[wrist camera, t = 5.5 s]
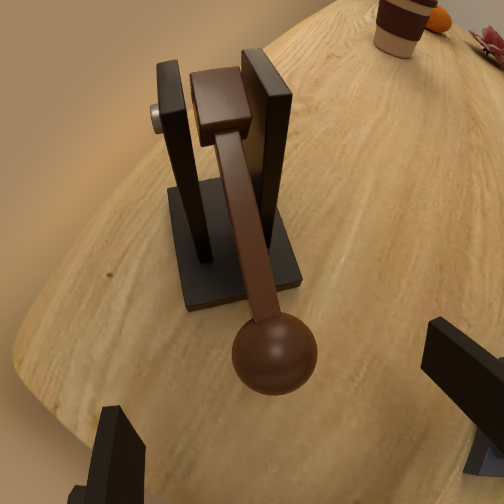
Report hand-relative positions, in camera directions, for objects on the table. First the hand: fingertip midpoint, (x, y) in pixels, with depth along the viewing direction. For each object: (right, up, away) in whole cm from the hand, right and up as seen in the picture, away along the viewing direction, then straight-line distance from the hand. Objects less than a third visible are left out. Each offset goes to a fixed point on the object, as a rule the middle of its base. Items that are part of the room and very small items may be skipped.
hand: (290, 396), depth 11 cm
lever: (-2, +6, +3) cm, 7 cm away
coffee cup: (+24, +42, +31) cm, 57 cm away
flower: (+63, +59, +41) cm, 96 cm away
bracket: (-3, +7, +12) cm, 14 cm away
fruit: (+45, +64, +43) cm, 89 cm away
